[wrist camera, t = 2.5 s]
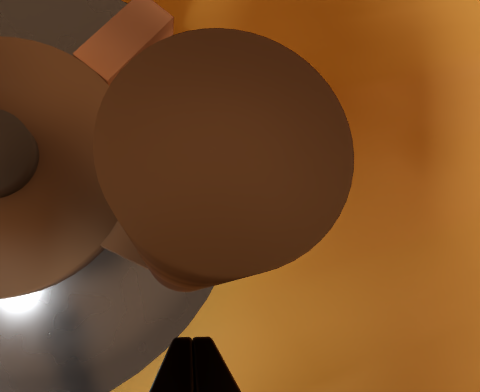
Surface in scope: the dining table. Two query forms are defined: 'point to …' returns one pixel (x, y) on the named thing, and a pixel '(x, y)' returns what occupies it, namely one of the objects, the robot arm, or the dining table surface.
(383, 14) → the dining table surface
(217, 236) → the crank handle
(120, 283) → the post base
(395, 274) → the dining table surface
